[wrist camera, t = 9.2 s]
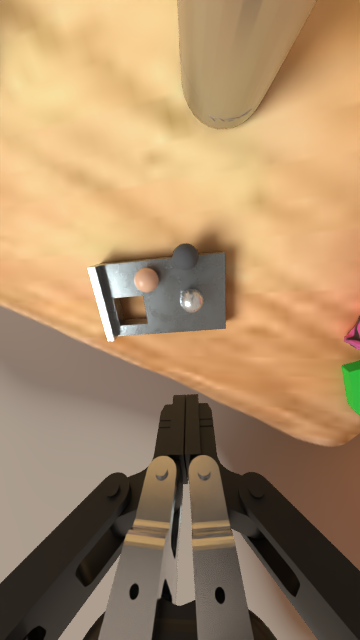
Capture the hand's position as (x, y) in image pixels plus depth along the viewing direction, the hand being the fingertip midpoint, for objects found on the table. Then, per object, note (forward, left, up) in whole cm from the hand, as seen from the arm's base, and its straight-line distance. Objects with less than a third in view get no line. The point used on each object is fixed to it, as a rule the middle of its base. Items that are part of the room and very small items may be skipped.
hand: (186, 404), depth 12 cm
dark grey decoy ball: (-7, 0, -17) cm, 18 cm away
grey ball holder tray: (-1, -4, -21) cm, 21 cm away
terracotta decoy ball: (-5, -5, -17) cm, 18 cm away
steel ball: (-1, +1, -17) cm, 17 cm away
